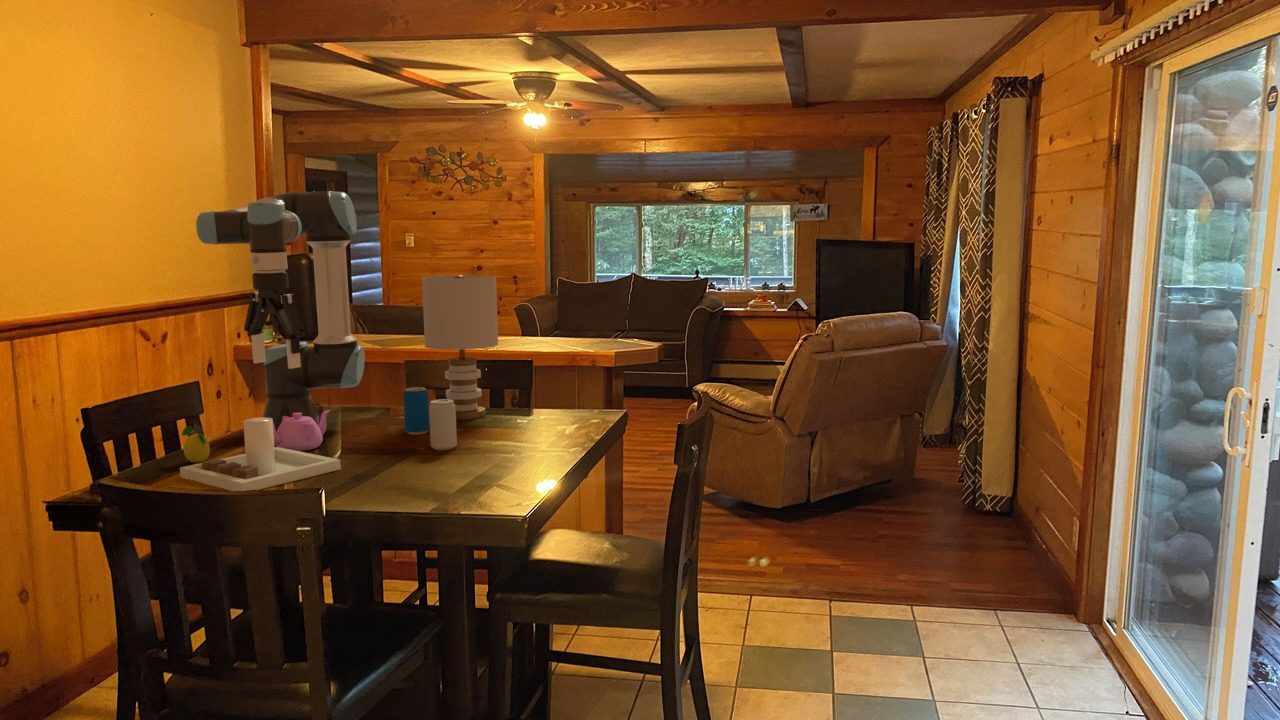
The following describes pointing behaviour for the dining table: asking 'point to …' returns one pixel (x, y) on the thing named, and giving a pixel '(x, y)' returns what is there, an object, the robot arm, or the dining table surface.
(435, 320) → the lamp
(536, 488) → the dining table surface
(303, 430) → the teapot
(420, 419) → the beverage can
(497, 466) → the dining table surface
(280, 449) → the tray
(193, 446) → the lemon
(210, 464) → the walnut cube
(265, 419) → the white rounded tapered cylinder
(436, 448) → the beverage can
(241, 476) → the walnut cube
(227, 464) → the walnut cube
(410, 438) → the dining table surface
